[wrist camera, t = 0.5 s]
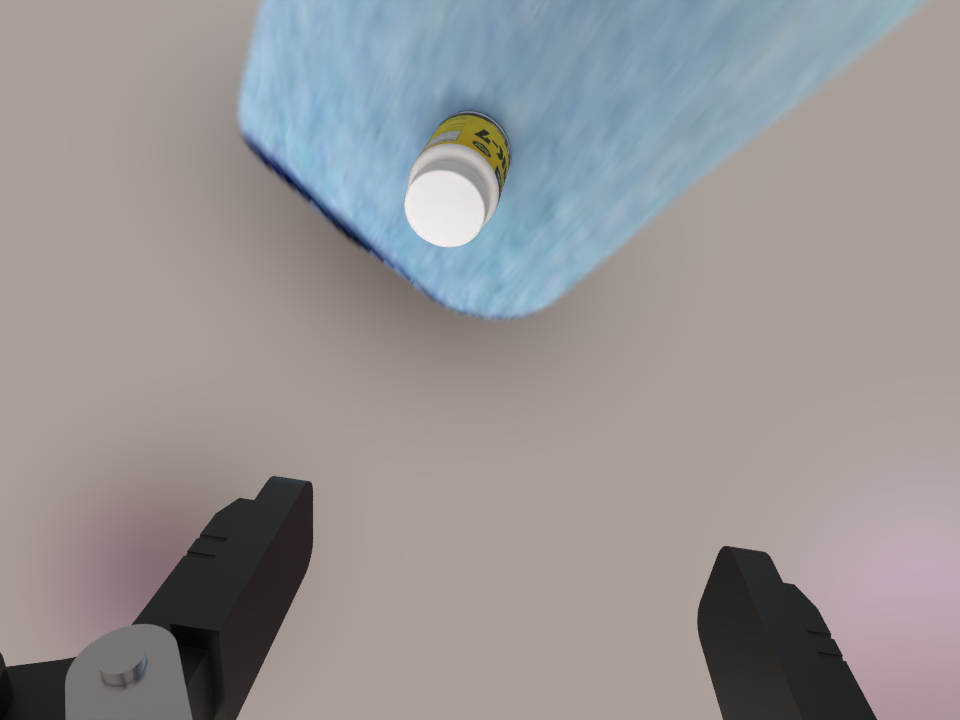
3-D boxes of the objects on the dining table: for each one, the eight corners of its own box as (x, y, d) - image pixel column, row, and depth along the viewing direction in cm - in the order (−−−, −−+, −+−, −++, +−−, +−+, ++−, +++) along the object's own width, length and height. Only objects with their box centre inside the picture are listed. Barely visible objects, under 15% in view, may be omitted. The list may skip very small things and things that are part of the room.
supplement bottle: (523, 174, 35) (508, 239, 29) (453, 200, 37) (424, 267, 31) (491, 95, 33) (467, 146, 26) (418, 127, 35) (378, 183, 28)
